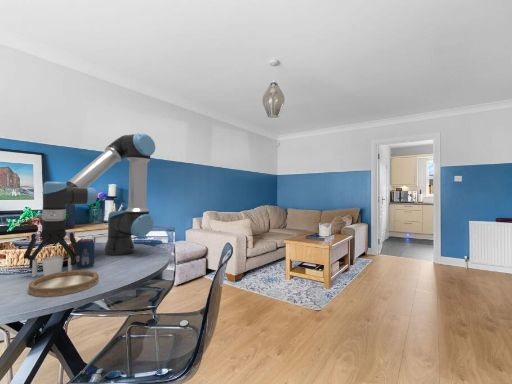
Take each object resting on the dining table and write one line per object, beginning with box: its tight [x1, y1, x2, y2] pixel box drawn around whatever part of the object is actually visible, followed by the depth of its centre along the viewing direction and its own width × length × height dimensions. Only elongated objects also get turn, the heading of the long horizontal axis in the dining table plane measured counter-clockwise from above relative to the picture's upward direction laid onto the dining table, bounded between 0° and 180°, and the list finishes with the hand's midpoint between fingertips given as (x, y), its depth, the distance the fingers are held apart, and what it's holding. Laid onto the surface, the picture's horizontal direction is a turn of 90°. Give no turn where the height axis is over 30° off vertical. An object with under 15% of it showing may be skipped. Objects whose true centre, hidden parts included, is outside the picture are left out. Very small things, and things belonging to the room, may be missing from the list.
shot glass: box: [41, 255, 65, 276], centre depth 106 cm, size 7×7×7 cm
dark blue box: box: [75, 238, 96, 270], centre depth 117 cm, size 7×7×12 cm
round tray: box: [28, 269, 100, 298], centre depth 95 cm, size 20×20×2 cm
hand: (52, 274), depth 105 cm, fingers open, 11 cm apart
